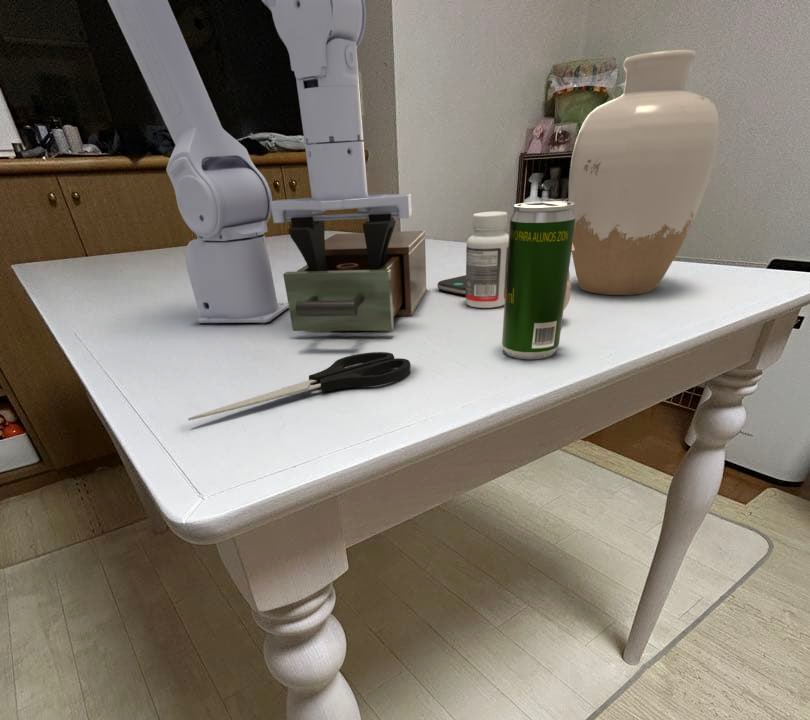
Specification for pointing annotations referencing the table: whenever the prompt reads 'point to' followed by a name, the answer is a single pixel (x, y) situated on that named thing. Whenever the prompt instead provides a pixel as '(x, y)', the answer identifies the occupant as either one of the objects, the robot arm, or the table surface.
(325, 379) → the scissors
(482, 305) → the pill bottle
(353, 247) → the cabinet
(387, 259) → the drawer
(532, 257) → the beer can
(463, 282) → the smartphone
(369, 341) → the table surface
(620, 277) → the vase
